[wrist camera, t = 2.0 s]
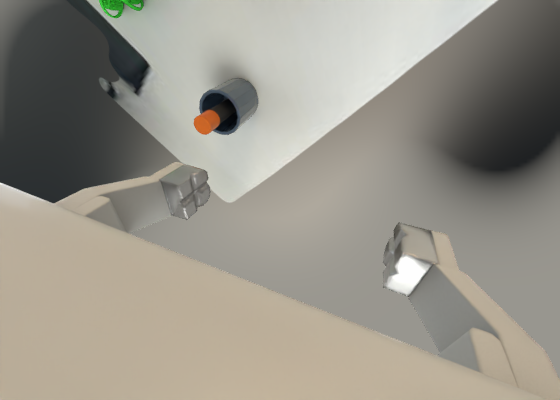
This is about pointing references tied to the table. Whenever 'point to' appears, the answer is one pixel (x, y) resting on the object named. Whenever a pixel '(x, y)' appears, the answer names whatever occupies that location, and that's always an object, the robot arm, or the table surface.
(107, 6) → the chandelier
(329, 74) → the table surface
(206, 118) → the marker
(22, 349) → the robot arm
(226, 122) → the pen cup
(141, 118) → the table surface
